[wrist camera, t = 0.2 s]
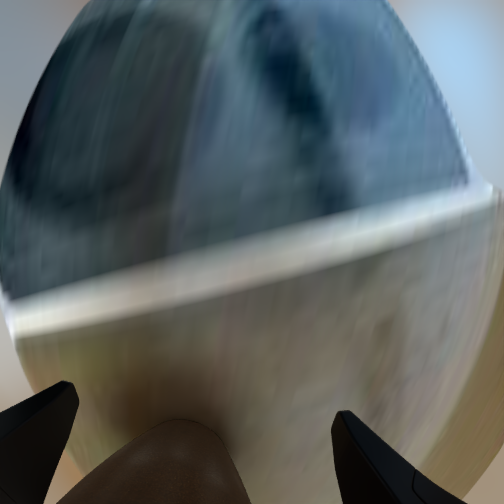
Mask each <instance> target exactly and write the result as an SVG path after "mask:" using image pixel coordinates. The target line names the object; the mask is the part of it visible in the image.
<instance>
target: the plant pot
mask: <svg viewBox="0 0 504 504" xmlns="http://www.w3.org/2000/svg"><path fill="white" fill-rule="evenodd" d="M56 504H251V502H250V499H249V497H248V494H247V492H246V490H245V487H244V485H243V483H242V480H241V478H240V476H239V474H238V471H237V469H236V467H235V465H234V463H233V461H232V459H231V457H230V455H229V454H228V452H227V450H226V448H225V446H224V445H223V443H222V441H221V439H220V438H219V437H218V436H217V435H216V434H215V433H214V432H213V431H212V430H210V429H209V428H207V427H205V426H204V425H201V424H199V423H196V422H192V421H188V420H171V421H166V422H164V423H162V424H160V425H158V426H156V427H154V428H152V429H150V430H149V431H147V432H145V433H144V434H142V435H140V436H139V437H137V438H136V439H134V440H133V441H131V442H130V443H128V444H127V445H125V446H124V447H122V448H121V449H120V450H118V451H117V452H115V453H114V454H113V455H111V456H110V457H109V458H108V459H106V460H105V461H104V462H102V463H101V464H100V465H99V466H97V467H96V468H95V469H94V470H93V471H91V472H90V473H89V474H88V475H87V476H85V477H84V478H83V479H82V480H81V481H80V482H78V484H76V485H75V486H74V487H73V488H72V489H71V490H70V491H69V492H68V493H67V494H66V495H65V496H64V497H63V498H62V499H60V500H59V501H58V502H57V503H56Z"/></svg>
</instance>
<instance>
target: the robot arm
mask: <svg viewBox="0 0 504 504" xmlns="http://www.w3.org/2000/svg"><path fill="white" fill-rule="evenodd" d="M78 406H79V398H78V395H77V392H76V389H75V386H74V384H73V383H71V382H68V381H64V380H63V381H60V382H58V383H56V384H55V385H53V386H51V387H49V388H47V389H45V390H43V391H41V392H39V393H37V394H35V395H33V396H32V397H30V398H28V399H26V400H24V401H22V402H20V403H18V404H16V405H14V406H12V407H10V408H8V409H6V410H4V411H2V412H0V504H43V503H44V500H45V497H46V494H47V492H48V489H49V486H50V483H51V480H52V478H53V476H54V473H55V470H56V468H57V465H58V463H59V460H60V458H61V455H62V452H63V450H64V448H65V446H66V443H67V441H68V438H69V435H70V432H71V429H72V426H73V422H74V419H75V416H76V413H77V410H78ZM331 436H332V445H333V455H334V465H335V471H336V476H337V480H338V485H339V489H340V493H341V498H342V502H343V504H467V503H465V502H464V501H462V500H460V499H459V498H457V497H455V496H454V495H452V494H450V493H449V492H447V491H445V490H444V489H442V488H441V487H439V486H438V485H436V484H435V483H433V482H432V481H431V480H429V479H428V478H427V477H426V476H424V475H423V474H422V473H421V472H419V471H418V470H417V469H415V467H413V466H412V465H411V464H410V463H409V462H408V461H406V460H405V459H404V458H403V457H402V456H401V455H399V454H398V453H397V452H396V451H395V450H394V449H392V448H391V447H390V446H389V445H388V444H387V443H386V442H385V441H383V440H382V439H381V438H380V437H379V436H378V435H377V434H376V433H374V432H373V431H372V430H371V429H370V428H369V427H368V426H367V425H366V424H364V423H363V422H362V421H361V420H360V419H359V418H358V417H357V416H356V415H355V414H354V413H352V412H351V411H350V410H344V411H338V412H337V414H336V416H335V419H334V421H333V424H332V427H331Z"/></svg>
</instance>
